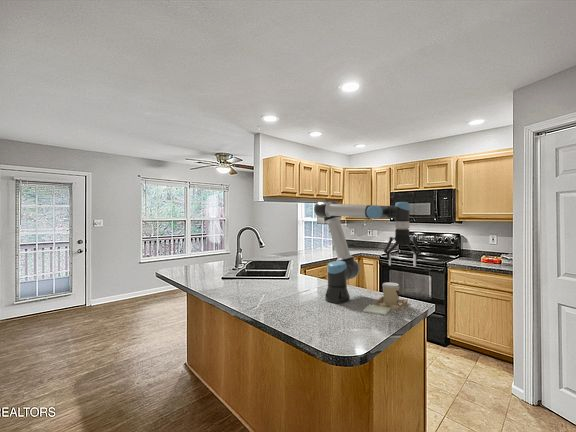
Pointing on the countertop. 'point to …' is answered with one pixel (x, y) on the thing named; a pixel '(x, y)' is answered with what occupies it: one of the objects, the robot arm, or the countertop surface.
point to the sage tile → (377, 309)
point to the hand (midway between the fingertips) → (402, 265)
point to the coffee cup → (391, 293)
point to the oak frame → (391, 305)
